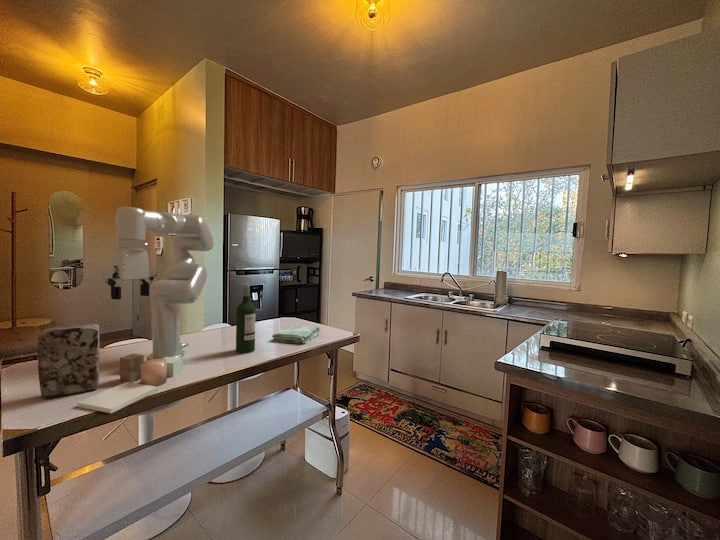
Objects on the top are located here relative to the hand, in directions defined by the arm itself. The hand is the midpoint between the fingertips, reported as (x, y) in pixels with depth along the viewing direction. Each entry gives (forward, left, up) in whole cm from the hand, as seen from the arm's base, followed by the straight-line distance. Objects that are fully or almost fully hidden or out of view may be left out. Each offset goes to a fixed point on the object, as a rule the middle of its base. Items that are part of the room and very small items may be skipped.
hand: (131, 297), depth 99 cm
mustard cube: (-7, -7, -28) cm, 30 cm away
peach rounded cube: (0, +9, -28) cm, 29 cm away
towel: (-65, +29, -28) cm, 77 cm away
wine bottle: (-38, +17, -28) cm, 50 cm away
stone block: (+12, -8, -28) cm, 32 cm away
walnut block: (0, 0, -28) cm, 28 cm away
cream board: (+11, +9, -28) cm, 31 cm away
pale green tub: (-8, +7, -28) cm, 30 cm away
